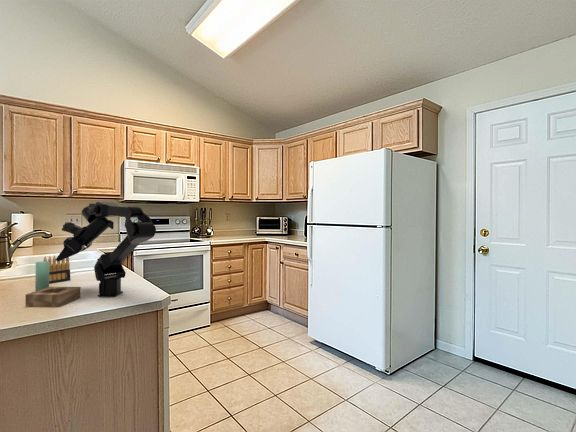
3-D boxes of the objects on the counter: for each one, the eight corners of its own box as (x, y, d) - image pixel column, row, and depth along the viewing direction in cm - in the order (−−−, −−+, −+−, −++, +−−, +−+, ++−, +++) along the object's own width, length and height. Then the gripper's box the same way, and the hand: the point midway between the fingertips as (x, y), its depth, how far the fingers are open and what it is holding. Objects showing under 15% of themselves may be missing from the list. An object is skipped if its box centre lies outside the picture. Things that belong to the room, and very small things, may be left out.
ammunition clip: (43, 284, 134) (43, 256, 133) (41, 284, 134) (41, 256, 134) (70, 280, 143) (70, 254, 143) (68, 279, 144) (68, 253, 144)
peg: (51, 294, 119) (51, 261, 119) (43, 297, 115) (44, 263, 115) (40, 294, 119) (41, 261, 119) (32, 297, 115) (32, 262, 115)
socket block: (80, 297, 115) (80, 286, 115) (59, 306, 104) (59, 294, 104) (49, 297, 115) (49, 286, 115) (25, 306, 104) (25, 294, 104)
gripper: (83, 214, 130) (50, 242, 126) (70, 215, 112) (32, 246, 108) (104, 233, 133) (73, 260, 128) (96, 236, 115) (59, 268, 111)
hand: (60, 258), depth 119 cm, fingers open, 9 cm apart
